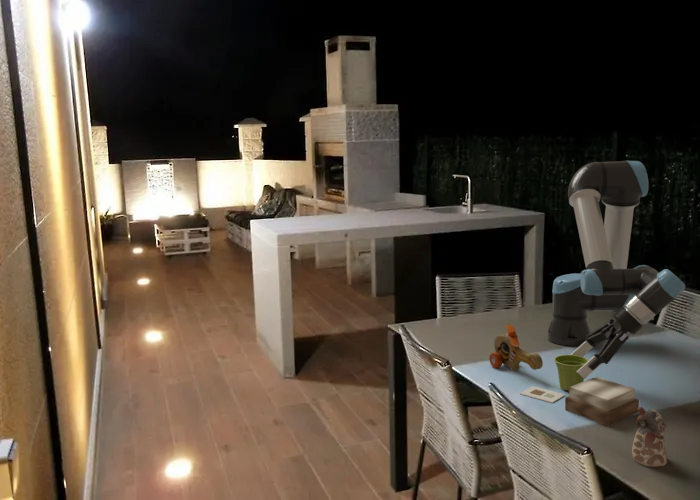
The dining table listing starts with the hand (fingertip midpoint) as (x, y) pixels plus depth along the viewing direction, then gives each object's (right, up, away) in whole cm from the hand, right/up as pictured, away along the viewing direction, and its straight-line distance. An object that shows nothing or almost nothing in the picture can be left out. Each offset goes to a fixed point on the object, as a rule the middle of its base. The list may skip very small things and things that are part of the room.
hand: (576, 366), depth 183 cm
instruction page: (-10, -8, -1) cm, 13 cm away
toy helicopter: (-13, -5, +18) cm, 23 cm away
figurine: (+2, -14, -39) cm, 42 cm away
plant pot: (-1, -7, +2) cm, 7 cm away
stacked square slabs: (+2, -9, -14) cm, 17 cm away
